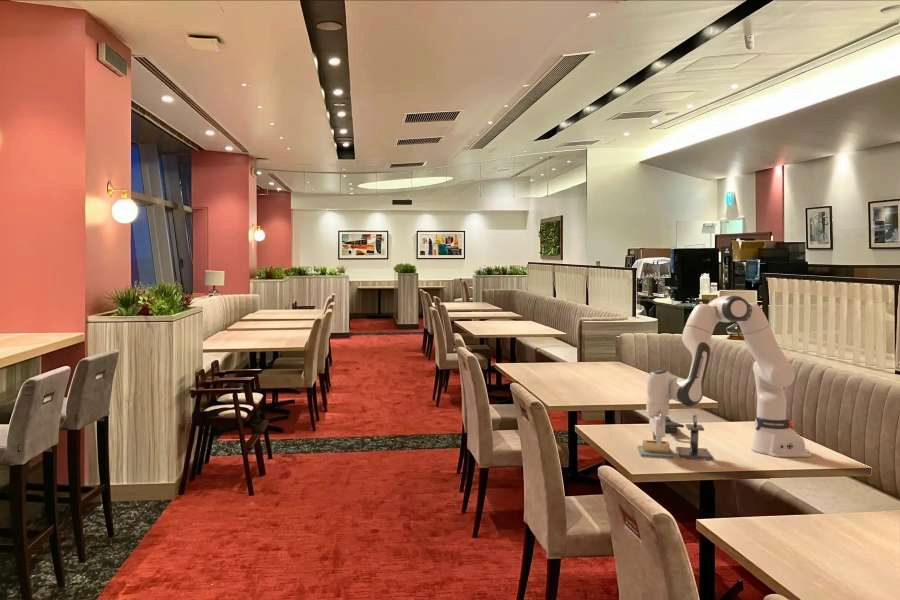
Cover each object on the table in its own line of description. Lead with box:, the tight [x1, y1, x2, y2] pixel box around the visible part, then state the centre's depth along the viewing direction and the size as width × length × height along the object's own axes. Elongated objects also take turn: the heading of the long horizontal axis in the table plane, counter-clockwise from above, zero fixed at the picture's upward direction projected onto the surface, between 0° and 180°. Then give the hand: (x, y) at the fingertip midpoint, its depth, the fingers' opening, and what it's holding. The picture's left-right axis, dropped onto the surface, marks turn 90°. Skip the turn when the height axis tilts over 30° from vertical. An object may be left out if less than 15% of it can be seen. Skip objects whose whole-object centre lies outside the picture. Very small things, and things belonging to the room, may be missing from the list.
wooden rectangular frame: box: [642, 439, 671, 453], centre depth 280 cm, size 10×5×4 cm, turn 80°
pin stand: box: [675, 414, 713, 461], centre depth 277 cm, size 12×12×16 cm
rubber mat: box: [637, 445, 676, 459], centre depth 280 cm, size 13×13×1 cm
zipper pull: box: [665, 415, 685, 434], centre depth 315 cm, size 9×7×25 cm
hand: (656, 442), depth 280 cm, fingers open, 8 cm apart
